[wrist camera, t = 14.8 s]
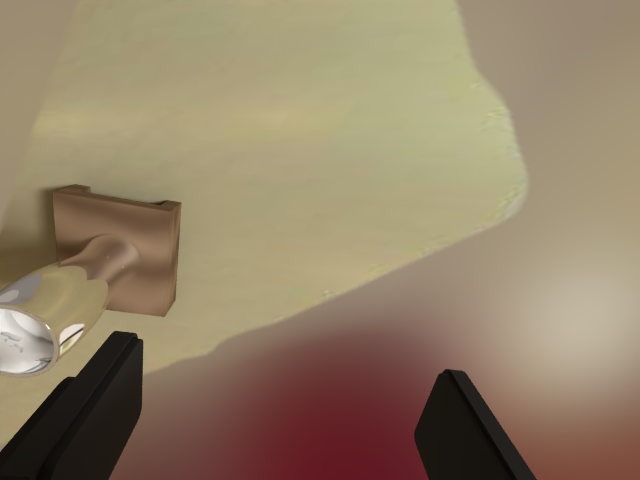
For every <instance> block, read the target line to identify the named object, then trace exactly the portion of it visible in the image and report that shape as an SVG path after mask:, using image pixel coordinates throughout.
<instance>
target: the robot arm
mask: <svg viewBox="0 0 640 480" xmlns="http://www.w3.org/2000/svg"><path fill="white" fill-rule="evenodd" d="M142 375H143V340H142V339H138V337H137V334H136V333H129V332H120V331H114V332H113V333H112V334H111V335H110V336H109V337H108V338H107V340H106V341H105V342H104V343H103V345H102V346H101V347H100V348H99V349H98V351H97V352H96V353H95V354H94V356H93V357H92V358H91V359H90V360H89V362H88V363H87V364H86V365H85V366H84V368H83V369H82V370H81V371H80V373H79V374H78V375H77V376H76V377H67V378H65V379H64V380H63V381H62V382H60V383H59V384H58V386H57V387H56V388H55V389H54V390H53V391H52V393H51V394H50V395H49V396H48V397H47V398H46V400H45V401H44V402H43V403H42V404H41V405H40V406H39V408H38V409H37V410H36V411H35V412H34V413H33V415H32V416H31V417H30V418H29V419H28V420H27V422H26V423H25V424H24V425H23V426H22V427H21V428H20V430H19V431H18V432H17V433H16V434H15V435H14V437H13V438H12V439H11V440H10V441H9V442H8V444H7V445H6V446H5V447H4V448H3V449H2V450H1V452H0V480H108V479H109V477H110V475H111V473H112V471H113V469H114V467H115V465H116V463H117V461H118V459H119V457H120V455H121V453H122V451H123V449H124V447H125V445H126V443H127V441H128V439H129V437H130V435H131V433H132V431H133V429H134V427H135V425H136V423H137V421H138V419H139V416H140V412H141V408H142ZM414 438H415V443H416V446H417V449H418V451H419V454H420V457H421V459H422V462H423V464H424V467H425V470H426V473H427V475H428V478H429V480H537V479H536V478H535V476H534V475H533V473H532V472H531V470H530V469H529V467H528V466H527V464H526V463H525V461H524V460H523V458H522V457H521V455H520V454H519V452H518V451H517V449H516V448H515V446H514V445H513V443H512V442H511V440H510V439H509V437H508V436H507V434H506V433H505V431H504V430H503V428H502V427H501V425H500V424H499V422H498V421H497V419H496V418H495V416H494V415H493V413H492V412H491V410H490V409H489V407H488V406H487V404H486V403H485V401H484V400H483V398H482V397H481V395H480V394H479V392H478V391H477V389H476V388H475V386H474V385H473V383H472V382H471V380H470V379H469V377H468V376H467V374H466V373H465V372H463V371H458V370H450V369H445V370H444V371H443V373H441V374H439V375H438V377H437V379H436V382H435V384H434V386H433V389H432V391H431V393H430V396H429V398H428V400H427V403H426V405H425V408H424V410H423V412H422V415H421V417H420V419H419V422H418V424H417V427H416V429H415V433H414Z"/></svg>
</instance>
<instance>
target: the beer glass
mask: <svg viewBox="0 0 640 480" xmlns="http://www.w3.org/2000/svg"><path fill="white" fill-rule="evenodd" d="M140 267H141V257H140V254H139V252H138V250H137V249H136V248H135V246H134V245H133V244H132V243H130V242H129V241H128V240H126V239H124V238H122V237H120V236H116V235H109V234H107V235H101V236H97V237H95V238H93V239H92V240H91V241H90V242H89V243H88V244H87V245H86V246H85V247H84V248H83V249H82V250H81V251H80V252H79V253H78V254H76V255H74V256H71V257H69V258H66V259H63V260H60V261H57V262H55V263H52V264H49V265H46V266H44V267H42V268H39V269H37V270H35V271H32V272H30V273H28V274H27V275H25V276H23V277H21V278H19V279H18V280H16V281H14V282H13V283H11V284H10V285H8V286H7V287H5V288H4V289H2V290H1V291H0V375H4V376H8V377H15V378H27V377H33V376H37V375H40V374H42V373H45V372H46V371H48V370H49V369H50V368H52V367H53V366H54V364H55V363H56V362H57V361H58V360H60V359H61V358H62V357H63V356H64V355H65V354H67V353H68V352H69V351H70V350H71V349H72V348H73V347H74V346H75V345H76V344H77V343H78V342H79V341H80V340H81V339H82V338H83V337H84V336H85V335H86V334H87V333H88V332H89V331H90V330H91V329H92V328H93V326H94V325H95V324H96V323H97V321H98V320H99V318H100V317H101V315H102V314H103V312H104V311H105V309H106V307H107V306H108V304H109V302H110V300H111V299H112V297H113V295H114V294H115V292H116V290H117V289H118V288H119V287H120V286H122V285H123V284H125V283H127V282H128V281H130V280H131V279H133V278H134V277H135V276H136V275H137V274H138V272H139V270H140Z"/></svg>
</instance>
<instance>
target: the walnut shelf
mask: <svg viewBox="0 0 640 480" xmlns="http://www.w3.org/2000/svg"><path fill="white" fill-rule="evenodd" d="M52 197H53V209H54V222H55V235H56V248H57V261H60V260H63V259H66V258H69V257H71V256H74V255H76V254H78V253H79V252H80V251H81V250H82V249H83V248H84V247H85V246H86V245H87V244H88V243H89V242H90V241H91V240H92V239H93V238H95V237H97V236H101V235H107V234H109V235H116V236H120V237H122V238H124V239H126V240H128V241H129V242H130V243H132V244H133V245H134V246H135V248H136V249H137V250H138V252H139V254H140V257H141V267H140V270H139V272H138V274H137V275H136V276H135V277H134V278H133V279H131V280H130V281H128V282H127V283H125V284H123V285H122V286H120V287H119V288H118V289H117V290H116V292H115V294H114V295H113V297H112V299H111V300H110V302H109V304H108V306H107V307H106V309H105V310H113V311H121V312H129V313H137V314H145V315H153V316H161V317H165V316H166V314H167V312H168V311H169V309H170V308H171V306H172V304H173V303H174V301H175V297H176V281H177V264H178V248H179V232H180V216H181V203H180V202H174V201H169V200H168V201H166V202H165V203H163V204H162V205H154V204H148V203H143V202H137V201H131V200H125V199H119V198H113V197H107V196H102V195H96V194H90V187H88V186H82V185H76V184H75V185H72V186H69V187H66V188H63V189H60V190H57V191H54V192H52Z"/></svg>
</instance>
